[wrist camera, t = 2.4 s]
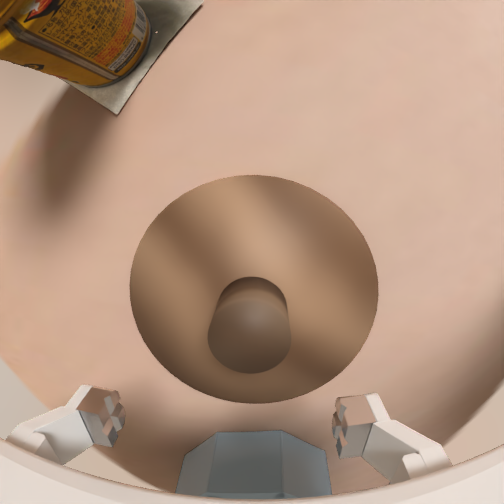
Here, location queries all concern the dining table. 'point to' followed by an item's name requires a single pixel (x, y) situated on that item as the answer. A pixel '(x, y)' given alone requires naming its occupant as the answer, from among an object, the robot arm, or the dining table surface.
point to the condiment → (91, 40)
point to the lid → (254, 289)
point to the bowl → (254, 467)
